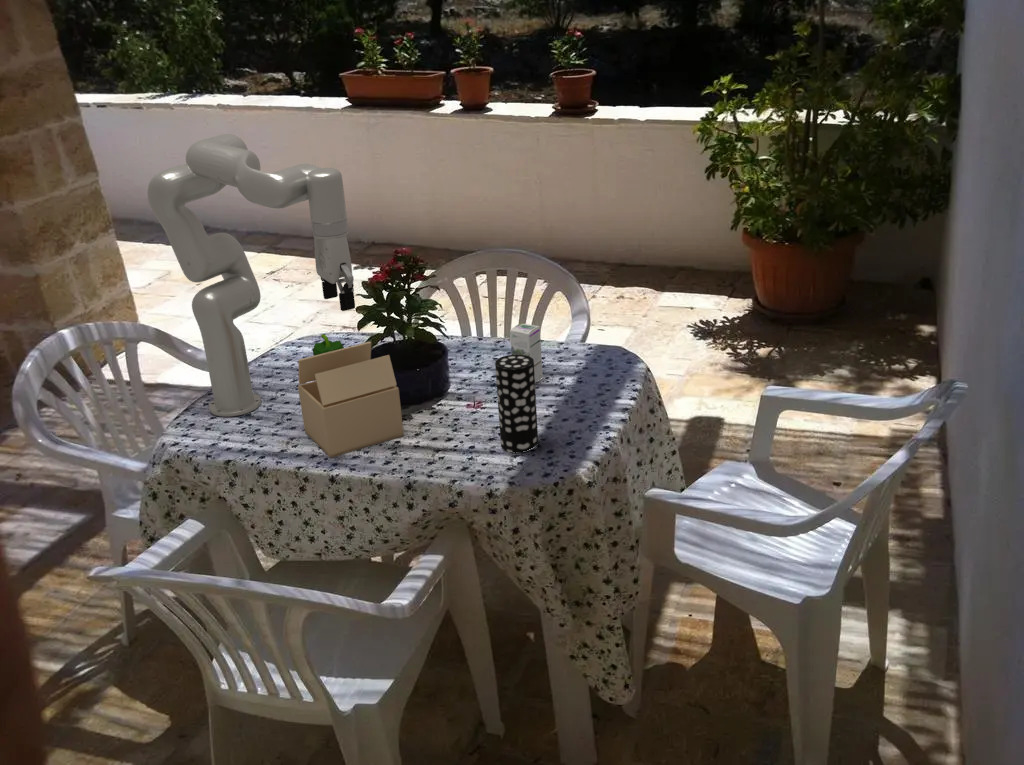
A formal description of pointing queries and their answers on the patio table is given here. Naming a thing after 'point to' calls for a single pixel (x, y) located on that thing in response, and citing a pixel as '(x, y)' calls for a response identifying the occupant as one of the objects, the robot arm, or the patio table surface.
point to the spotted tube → (516, 402)
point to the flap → (332, 361)
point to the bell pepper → (326, 346)
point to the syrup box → (528, 345)
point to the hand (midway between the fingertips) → (339, 303)
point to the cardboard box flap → (355, 379)
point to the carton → (351, 419)
